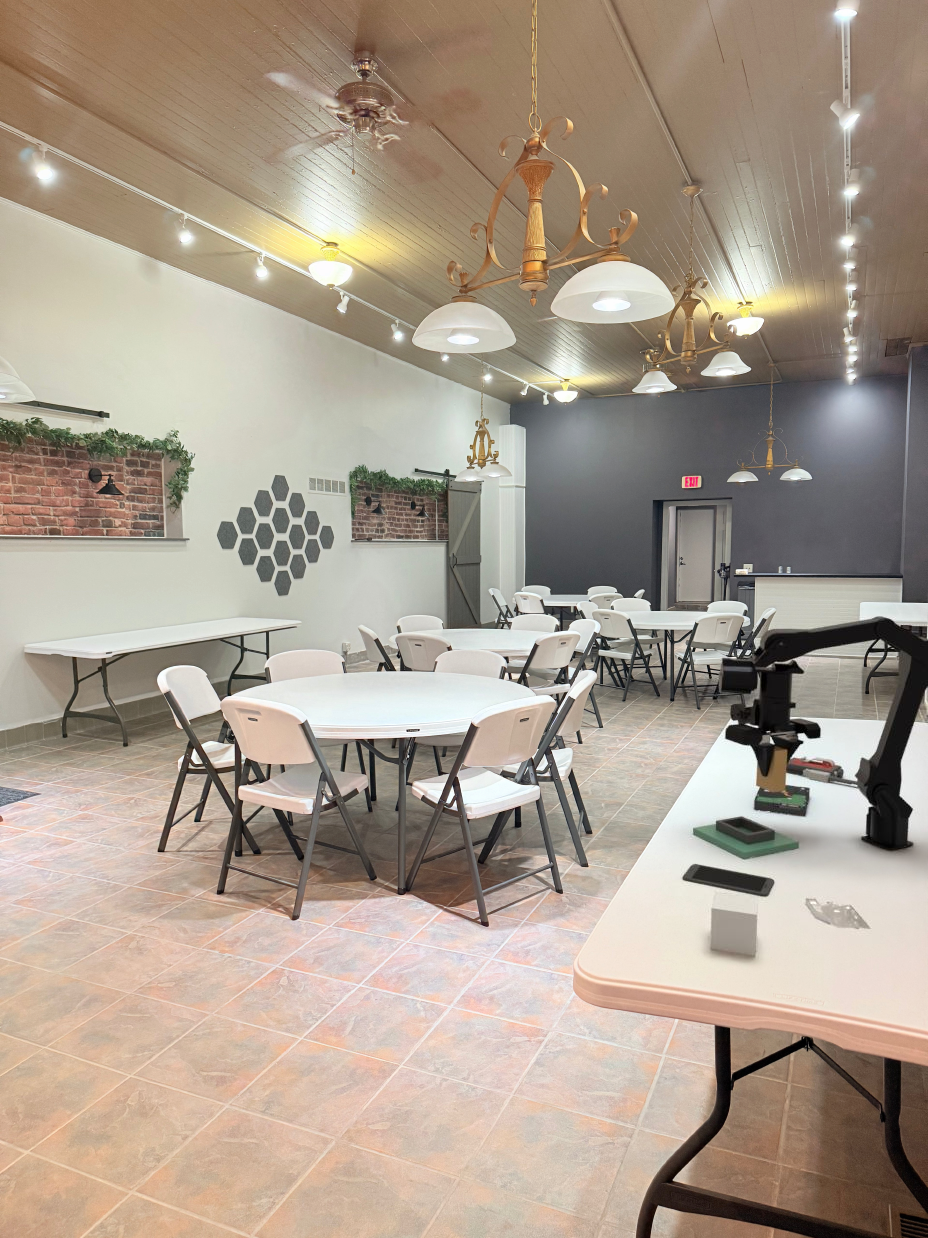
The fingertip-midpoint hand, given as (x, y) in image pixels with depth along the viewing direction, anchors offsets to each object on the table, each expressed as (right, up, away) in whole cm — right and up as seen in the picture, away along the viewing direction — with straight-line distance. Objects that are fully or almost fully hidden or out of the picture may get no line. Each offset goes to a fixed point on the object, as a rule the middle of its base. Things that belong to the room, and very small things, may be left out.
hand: (771, 775), depth 157 cm
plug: (0, -3, 0) cm, 2 cm away
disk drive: (+10, -11, +21) cm, 25 cm away
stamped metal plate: (-2, -16, -33) cm, 36 cm away
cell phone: (-15, -15, -20) cm, 28 cm away
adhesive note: (-21, -16, -41) cm, 48 cm away
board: (-6, -12, -2) cm, 14 cm away
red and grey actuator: (+28, -9, +40) cm, 49 cm away
